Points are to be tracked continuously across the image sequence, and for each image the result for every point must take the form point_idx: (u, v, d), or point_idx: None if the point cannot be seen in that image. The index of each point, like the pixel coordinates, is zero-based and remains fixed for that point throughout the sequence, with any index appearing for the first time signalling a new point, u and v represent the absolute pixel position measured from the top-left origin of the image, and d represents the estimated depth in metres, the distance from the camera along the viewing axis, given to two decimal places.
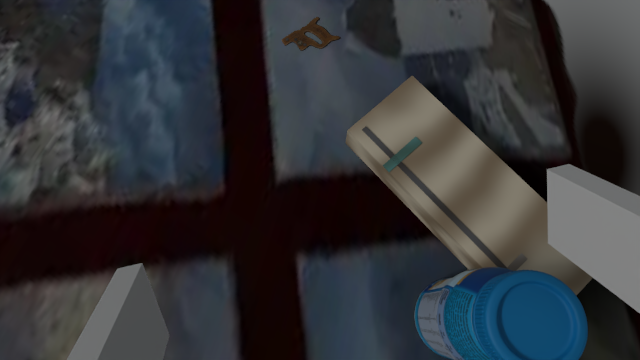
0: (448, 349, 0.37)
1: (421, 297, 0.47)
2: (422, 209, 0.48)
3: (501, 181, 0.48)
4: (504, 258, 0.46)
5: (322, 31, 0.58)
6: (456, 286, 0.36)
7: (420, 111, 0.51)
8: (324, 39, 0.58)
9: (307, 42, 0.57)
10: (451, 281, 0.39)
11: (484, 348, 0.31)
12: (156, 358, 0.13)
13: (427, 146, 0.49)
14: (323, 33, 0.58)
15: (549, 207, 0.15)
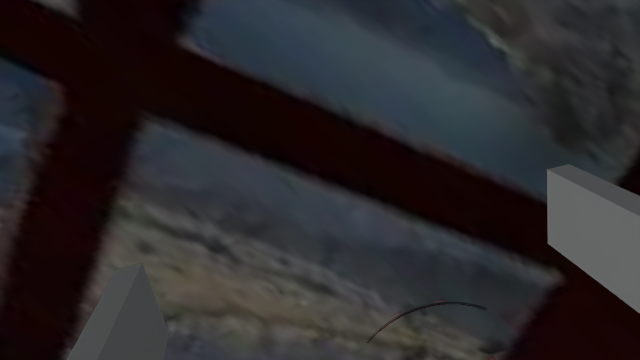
0: None
1: None
2: None
3: None
4: None
5: None
6: None
7: None
8: None
9: None
10: None
11: None
12: (156, 358, 0.13)
13: None
14: None
15: (548, 207, 0.15)
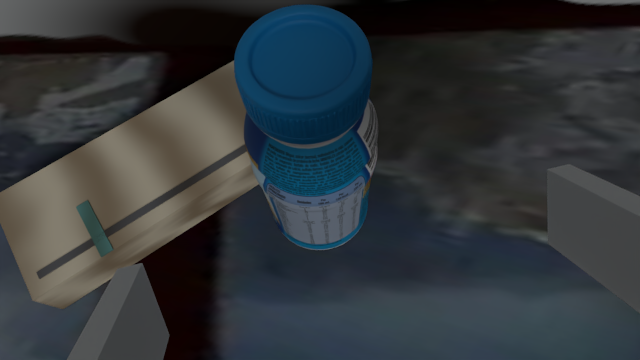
0: (343, 198, 0.28)
1: (289, 236, 0.37)
2: (176, 215, 0.36)
3: (166, 117, 0.39)
4: None
5: None
6: (260, 168, 0.26)
7: (43, 196, 0.37)
8: None
9: None
10: (259, 180, 0.29)
11: (333, 132, 0.22)
12: (156, 358, 0.13)
13: (95, 194, 0.37)
14: None
15: (549, 207, 0.15)
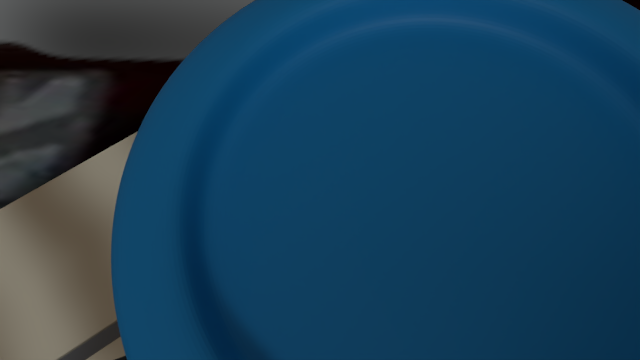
0: None
1: None
2: None
3: (89, 193, 0.22)
4: None
5: None
6: None
7: None
8: None
9: None
10: None
11: None
12: None
13: None
14: None
15: None
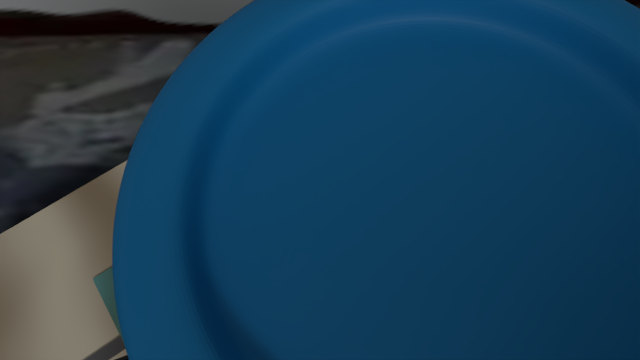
0: None
1: None
2: None
3: None
4: None
5: None
6: None
7: (39, 259, 0.23)
8: None
9: None
10: None
11: None
12: None
13: None
14: None
15: None
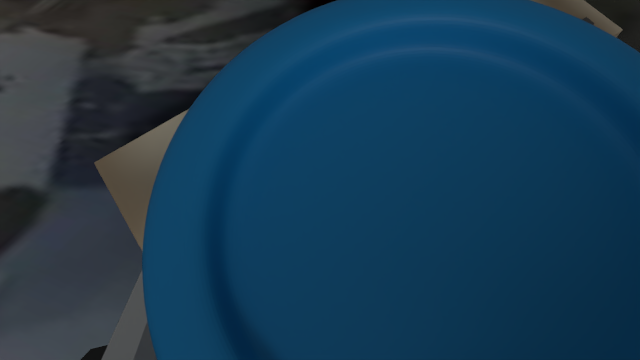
0: None
1: None
2: None
3: None
4: None
5: None
6: None
7: None
8: None
9: None
10: None
11: None
12: None
13: None
14: None
15: None
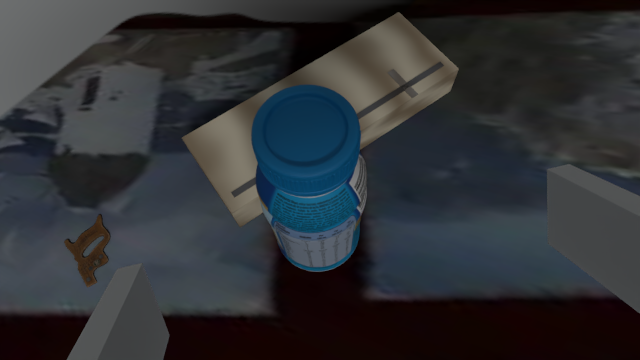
0: (338, 233, 0.34)
1: (291, 259, 0.42)
2: None
3: (316, 76, 0.49)
4: (392, 87, 0.48)
5: (86, 235, 0.46)
6: (269, 210, 0.32)
7: (225, 136, 0.46)
8: (98, 232, 0.46)
9: (98, 253, 0.45)
10: (267, 217, 0.35)
11: (329, 188, 0.28)
12: (156, 358, 0.13)
13: None
14: (89, 233, 0.46)
15: (549, 207, 0.15)
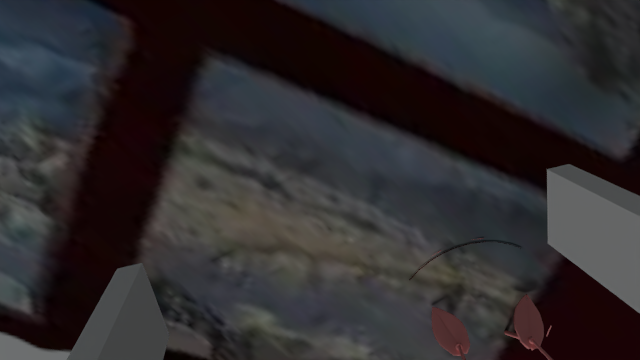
0: None
1: None
2: None
3: None
4: None
5: None
6: None
7: None
8: None
9: None
10: None
11: None
12: (156, 358, 0.13)
13: None
14: None
15: (548, 207, 0.15)
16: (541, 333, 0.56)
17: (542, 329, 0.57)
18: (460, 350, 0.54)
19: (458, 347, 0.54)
